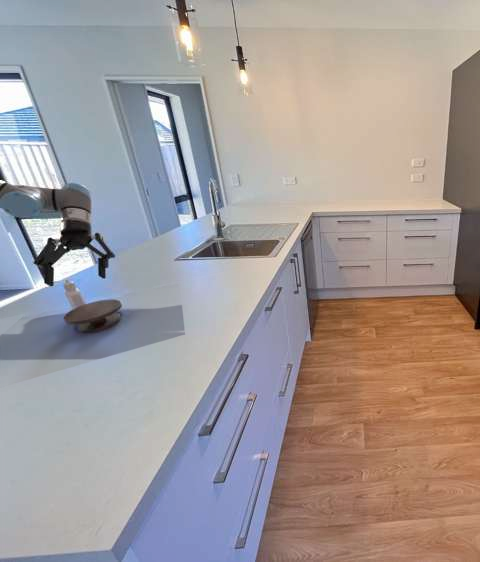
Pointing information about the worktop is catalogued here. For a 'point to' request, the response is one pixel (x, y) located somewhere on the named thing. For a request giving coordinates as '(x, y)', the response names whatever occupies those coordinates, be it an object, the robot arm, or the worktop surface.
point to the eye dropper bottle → (73, 295)
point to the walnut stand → (95, 315)
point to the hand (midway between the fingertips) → (76, 280)
